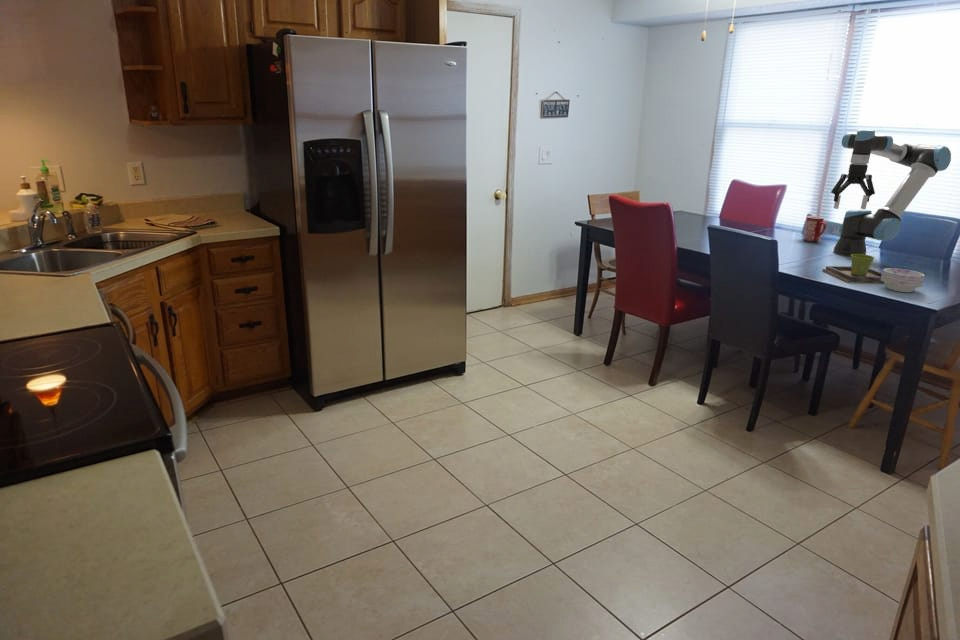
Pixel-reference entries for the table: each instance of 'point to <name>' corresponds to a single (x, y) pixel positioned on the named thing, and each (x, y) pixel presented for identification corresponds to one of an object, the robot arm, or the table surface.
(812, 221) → the mug
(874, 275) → the wooden tray
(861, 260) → the plant pot
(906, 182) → the robot arm
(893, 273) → the paper bowls
